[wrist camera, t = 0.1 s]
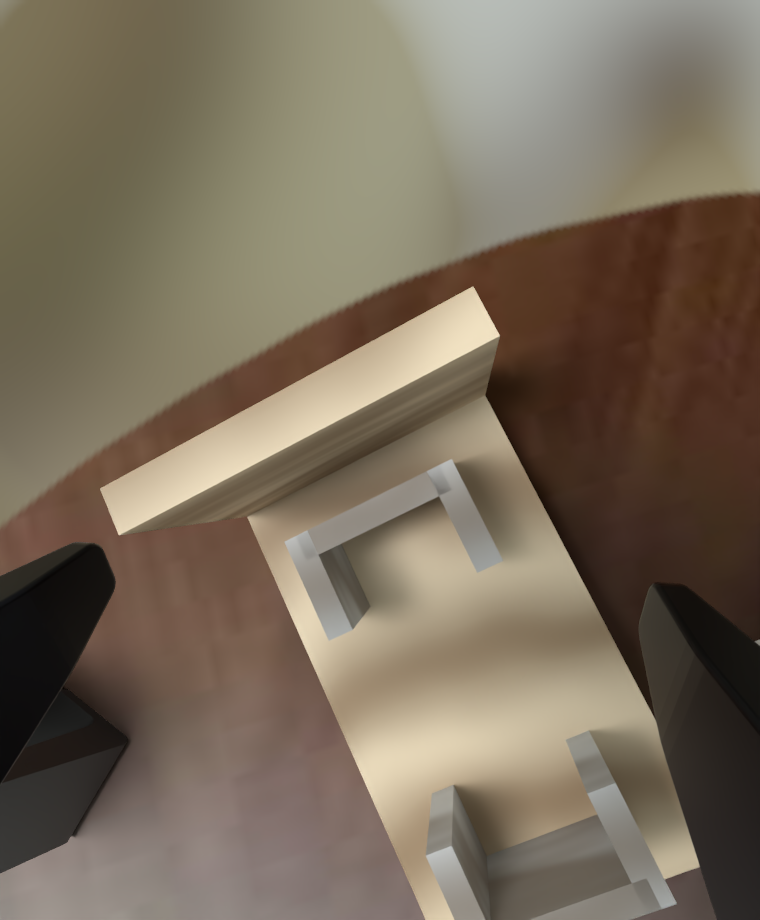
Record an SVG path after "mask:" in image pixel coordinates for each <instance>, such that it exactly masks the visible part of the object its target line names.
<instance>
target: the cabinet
mask: <svg viewBox="0 0 760 920" xmlns="http://www.w3.org/2000/svg"><path fill="white" fill-rule="evenodd" d="M499 337H500V335H499V334H498V332H497V330H496V328H495V326H494V324H493V322H492V321H491V319H490V317H489V315H488V313H487V311H486V309H485V308H484V306H483V304H482V302H481V300H480V298H479V296H478V295H477V293H476V291H475V289H474V287H471V288H469V289H467V290H466V291H464V292H462V293H460V294H458V295H456V296H455V297H453V298H451V299H449V300H447V301H445V302H443V303H442V304H440V305H438V306H436V307H434V308H432V309H431V310H429V311H427V312H425V313H423V314H421V315H419V316H418V317H416V318H414V319H412V320H410V321H408V322H407V323H405V324H403V325H401V326H399V327H397V328H395V329H394V330H392V331H390V332H388V333H386V334H384V335H383V336H381V337H379V338H377V339H375V340H373V341H372V342H370V343H368V344H366V345H364V346H362V347H360V348H359V349H357V350H355V351H353V352H351V353H349V354H348V355H346V356H344V357H342V358H340V359H338V360H336V361H335V362H333V363H331V364H329V365H327V366H325V367H324V368H322V369H320V370H318V371H316V372H314V373H312V374H311V375H309V376H307V377H305V378H303V379H301V380H300V381H298V382H296V383H294V384H292V385H290V386H288V387H287V388H285V389H283V390H281V391H279V392H277V393H276V394H274V395H272V396H270V397H268V398H266V399H265V400H263V401H261V402H259V403H257V404H255V405H253V406H252V407H250V408H248V409H246V410H244V411H242V412H241V413H239V414H237V415H235V416H233V417H231V418H229V419H228V420H226V421H224V422H222V423H220V424H218V425H217V426H215V427H213V428H211V429H209V430H207V431H205V432H204V433H202V434H200V435H198V436H196V437H194V438H193V439H191V440H189V441H187V442H185V443H183V444H181V445H180V446H178V447H176V448H174V449H172V450H170V451H169V452H167V453H165V454H163V455H161V456H159V457H157V458H156V459H154V460H152V461H150V462H148V463H146V464H145V465H143V466H141V467H139V468H137V469H135V470H134V471H132V472H130V473H128V474H126V475H124V476H122V477H121V478H119V479H117V480H115V481H113V482H111V483H110V484H108V485H106V486H104V487H102V488H100V490H101V492H102V495H103V497H104V500H105V502H106V504H107V507H108V509H109V512H110V514H111V517H112V519H113V522H114V524H115V527H116V529H117V531H118V534H119V535H125V534H132V533H139V532H145V531H152V530H159V529H166V528H172V527H179V526H186V525H193V524H200V523H206V522H213V521H220V520H227V519H234V518H240V517H247V518H248V520H249V522H250V524H251V527H252V529H253V531H254V533H255V536H256V538H257V540H258V542H259V545H260V547H261V549H262V551H263V554H264V556H265V558H266V560H267V563H268V565H269V567H270V569H271V572H272V574H273V576H274V578H275V581H276V583H277V585H278V587H279V590H280V592H281V594H282V596H283V599H284V601H285V603H286V606H287V608H288V610H289V612H290V615H291V617H292V619H293V621H294V624H295V626H296V628H297V630H298V633H299V635H300V637H301V639H302V642H303V644H304V646H305V648H306V651H307V653H308V655H309V657H310V660H311V662H312V664H313V666H314V669H315V671H316V673H317V675H318V678H319V680H320V682H321V684H322V687H323V689H324V691H325V693H326V696H327V698H328V700H329V702H330V705H331V707H332V709H333V711H334V714H335V716H336V718H337V721H338V723H339V725H340V727H341V730H342V732H343V734H344V736H345V739H346V741H347V743H348V745H349V748H350V750H351V752H352V754H353V757H354V759H355V761H356V763H357V766H358V768H359V770H360V772H361V775H362V777H363V779H364V781H365V784H366V786H367V788H368V790H369V793H370V795H371V797H372V799H373V802H374V804H375V806H376V808H377V811H378V813H379V815H380V817H381V820H382V822H383V824H384V826H385V829H386V831H387V833H388V836H389V838H390V840H391V842H392V845H393V847H394V849H395V851H396V854H397V856H398V858H399V860H400V863H401V865H402V867H403V869H404V872H405V874H406V876H407V878H408V881H409V883H410V885H411V887H412V890H413V892H414V894H415V896H416V899H417V901H418V903H419V905H420V908H421V910H422V912H423V914H424V917H425V919H426V920H632V919H634V918H637V917H640V916H643V915H646V914H649V913H652V912H655V911H658V910H661V909H663V908H666V907H669V906H672V905H675V904H677V903H676V901H675V899H674V897H673V895H672V893H671V891H670V889H669V887H668V885H667V883H666V881H665V879H666V878H669V877H672V876H675V875H678V874H681V873H684V872H686V871H689V870H692V869H695V868H698V867H700V865H699V862H698V859H697V856H696V853H695V850H694V846H693V843H692V840H691V837H690V834H689V831H688V828H687V825H686V821H685V818H684V815H683V812H682V809H681V806H680V803H679V800H678V796H677V793H676V790H675V787H674V784H673V781H672V778H671V775H670V771H669V768H668V765H667V762H666V759H665V755H664V752H663V748H662V745H661V741H660V737H659V732H658V728H657V723H656V720H655V718H654V716H653V714H652V713H651V711H650V709H649V707H648V705H647V703H646V701H645V699H644V697H643V695H642V693H641V692H640V690H639V688H638V686H637V684H636V682H635V680H634V678H633V676H632V674H631V672H630V671H629V669H628V667H627V665H626V663H625V661H624V659H623V657H622V655H621V653H620V651H619V650H618V648H617V646H616V644H615V642H614V640H613V638H612V636H611V634H610V632H609V631H608V629H607V627H606V625H605V623H604V621H603V619H602V617H601V615H600V613H599V611H598V610H597V608H596V606H595V604H594V602H593V600H592V598H591V596H590V594H589V592H588V590H587V589H586V587H585V585H584V583H583V581H582V579H581V577H580V575H579V573H578V571H577V569H576V568H575V566H574V564H573V562H572V560H571V558H570V556H569V554H568V552H567V550H566V548H565V547H564V545H563V543H562V541H561V539H560V537H559V535H558V533H557V531H556V529H555V527H554V526H553V524H552V522H551V520H550V518H549V516H548V514H547V512H546V510H545V508H544V507H543V505H542V503H541V501H540V499H539V497H538V495H537V493H536V491H535V489H534V487H533V486H532V484H531V482H530V480H529V478H528V476H527V474H526V472H525V470H524V468H523V466H522V465H521V463H520V461H519V459H518V457H517V455H516V453H515V451H514V449H513V447H512V445H511V444H510V442H509V440H508V438H507V436H506V434H505V432H504V430H503V428H502V426H501V424H500V423H499V421H498V419H497V417H496V415H495V413H494V411H493V409H492V407H491V405H490V404H489V402H488V400H487V398H486V396H485V394H486V390H487V386H488V382H489V378H490V374H491V370H492V366H493V361H494V357H495V353H496V349H497V345H498V341H499Z"/></svg>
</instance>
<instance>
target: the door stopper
mask: <svg viewBox="0 0 760 920" xmlns="http://www.w3.org/2000/svg"><path fill="white" fill-rule="evenodd" d="M126 742H127V737H126V736H125V735H124V734H122V733H121V732H120V731H119V730H117V729H116V728H115V727H114V726H112V725H111V724H110V723H109V722H108V721H106V720H105V719H104V718H103V717H101V716H100V715H99V714H98V713H96V712H95V711H94V710H93V709H92V708H90V707H89V706H88V705H87V704H85V703H84V702H83V701H82V700H80V699H79V698H78V697H77V696H75V695H74V694H73V693H72V692H71V691H69V690H68V689H67V690H64V689H61V691H60V692H59V694H58V695H57V697H56V698H55V700H54V702H53V703H52V705H51V706H50V708H49V709H48V711H47V713H46V714H45V716H44V717H43V719H42V720H41V722H40V724H39V725H38V727H37V728H36V730H35V732H34V733H33V735H32V736H31V738H30V739H29V741H28V743H27V744H26V746H25V747H24V749H23V750H22V752H21V754H20V755H19V757H18V758H17V760H16V761H15V763H14V765H13V766H12V768H11V769H10V771H9V773H8V774H7V776H6V777H5V779H4V780H3V782H2V784H1V785H0V873H2V872H4V871H6V870H9V869H11V868H13V867H15V866H17V865H20V864H22V863H24V862H26V861H28V860H30V859H33V858H35V857H37V856H39V855H41V854H43V853H46V852H48V851H50V850H52V849H54V848H57V847H59V846H61V845H63V844H65V843H67V842H68V840H69V838H70V837H71V835H72V833H73V832H74V830H75V828H76V827H77V825H78V823H79V822H80V820H81V818H82V817H83V815H84V813H85V811H86V810H87V808H88V806H89V805H90V803H91V801H92V800H93V798H94V796H95V795H96V793H97V791H98V790H99V788H100V786H101V785H102V783H103V781H104V779H105V778H106V776H107V774H108V773H109V771H110V769H111V768H112V766H113V764H114V763H115V761H116V759H117V758H118V756H119V754H120V752H121V751H122V749H123V747H124V746H125V744H126Z"/></svg>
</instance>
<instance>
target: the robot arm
mask: <svg viewBox="0 0 760 920" xmlns="http://www.w3.org/2000/svg"><path fill="white" fill-rule="evenodd" d="M115 583H116V581H115V576H114V574H113V571H112V569H111V567H110V565H109V562H108V560H107V558H106V555H105V553H104V551H103V549H102V547H101V546H99V545H98V544H95V543H84V542H75V543H71V544H69V545H67V546H65V547H63V548H60V549H58V550H56V551H54V552H52V553H50V554H47V555H45V556H43V557H41V558H39V559H37V560H34V561H32V562H30V563H28V564H26V565H24V566H21V567H19V568H17V569H15V570H13V571H11V572H8V573H6V574H4V575H2V576H0V785H1V784H2V782H3V780H4V779H5V777H6V776H7V774H8V773H9V771H10V769H11V768H12V766H13V765H14V763H15V761H16V760H17V758H18V757H19V755H20V754H21V752H22V750H23V749H24V747H25V746H26V744H27V743H28V741H29V739H30V738H31V736H32V735H33V733H34V732H35V730H36V728H37V727H38V725H39V724H40V722H41V720H42V719H43V717H44V716H45V714H46V713H47V711H48V709H49V708H50V706H51V705H52V703H53V702H54V700H55V698H56V697H57V695H58V694H59V692H60V691H61V689H62V687H63V686H64V684H65V682H66V681H67V679H68V678H69V676H70V674H71V673H72V671H73V669H74V667H75V665H76V664H77V662H78V660H79V658H80V656H81V654H82V652H83V650H84V648H85V646H86V644H87V643H88V641H89V639H90V637H91V635H92V633H93V631H94V629H95V627H96V625H97V623H98V621H99V619H100V617H101V615H102V614H103V612H104V610H105V608H106V606H107V604H108V602H109V600H110V598H111V596H112V594H113V592H114V589H115ZM639 639H640V644H641V649H642V654H643V659H644V664H645V669H646V674H647V678H648V683H649V688H650V693H651V698H652V703H653V708H654V713H655V718H656V723H657V728H658V732H659V737H660V741H661V745H662V748H663V752H664V755H665V759H666V762H667V765H668V768H669V771H670V775H671V778H672V781H673V784H674V787H675V790H676V793H677V796H678V800H679V803H680V806H681V809H682V812H683V815H684V818H685V821H686V825H687V828H688V831H689V834H690V837H691V840H692V843H693V846H694V850H695V853H696V856H697V859H698V862H699V865H700V868H701V871H702V875H703V878H704V881H705V884H706V887H707V890H708V893H709V896H710V900H711V903H712V906H713V909H714V912H715V915H716V918H717V920H760V645H758V644H757V643H756V642H755V641H753V640H752V639H751V638H750V637H749V636H747V635H746V634H745V633H744V632H742V631H741V630H740V629H739V628H737V627H736V626H735V625H734V624H733V623H731V622H730V621H729V620H728V619H726V618H725V617H724V616H723V615H721V614H720V613H719V612H718V611H717V610H715V609H714V608H713V607H712V606H710V605H709V604H708V603H707V602H706V601H704V600H703V599H702V598H701V597H699V596H698V595H697V594H696V593H694V592H693V591H692V590H691V589H690V588H688V587H687V586H685V585H682V584H675V583H661V582H656V583H653V584H652V585H651V586H650V588H649V590H648V593H647V597H646V600H645V604H644V607H643V611H642V614H641V618H640V621H639Z"/></svg>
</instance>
